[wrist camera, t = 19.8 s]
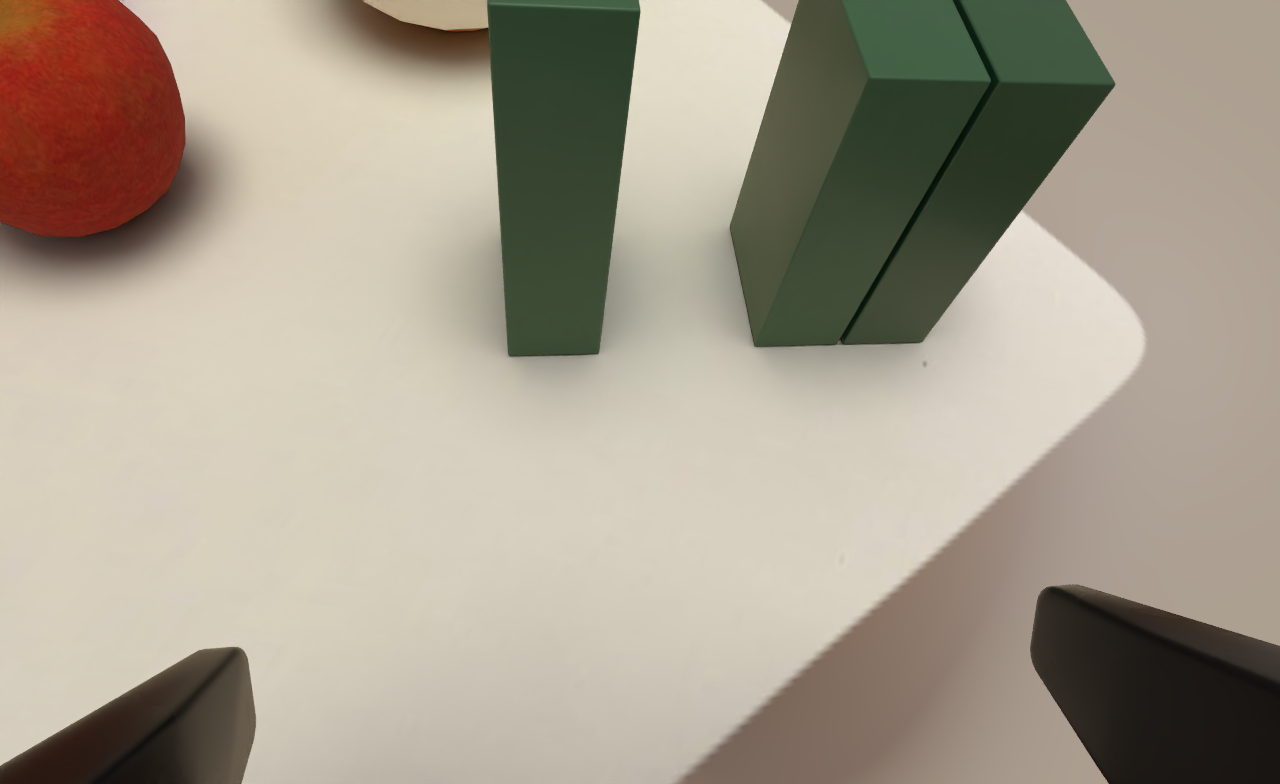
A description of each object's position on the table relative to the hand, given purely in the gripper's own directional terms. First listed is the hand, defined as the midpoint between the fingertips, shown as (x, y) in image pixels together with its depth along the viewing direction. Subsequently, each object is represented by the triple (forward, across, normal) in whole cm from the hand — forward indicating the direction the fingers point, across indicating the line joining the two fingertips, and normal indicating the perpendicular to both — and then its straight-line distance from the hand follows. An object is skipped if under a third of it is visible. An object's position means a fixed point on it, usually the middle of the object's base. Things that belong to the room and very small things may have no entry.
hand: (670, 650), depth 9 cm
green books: (+20, -10, -2) cm, 22 cm away
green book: (+20, 0, -2) cm, 20 cm away
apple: (+23, +16, -4) cm, 28 cm away
